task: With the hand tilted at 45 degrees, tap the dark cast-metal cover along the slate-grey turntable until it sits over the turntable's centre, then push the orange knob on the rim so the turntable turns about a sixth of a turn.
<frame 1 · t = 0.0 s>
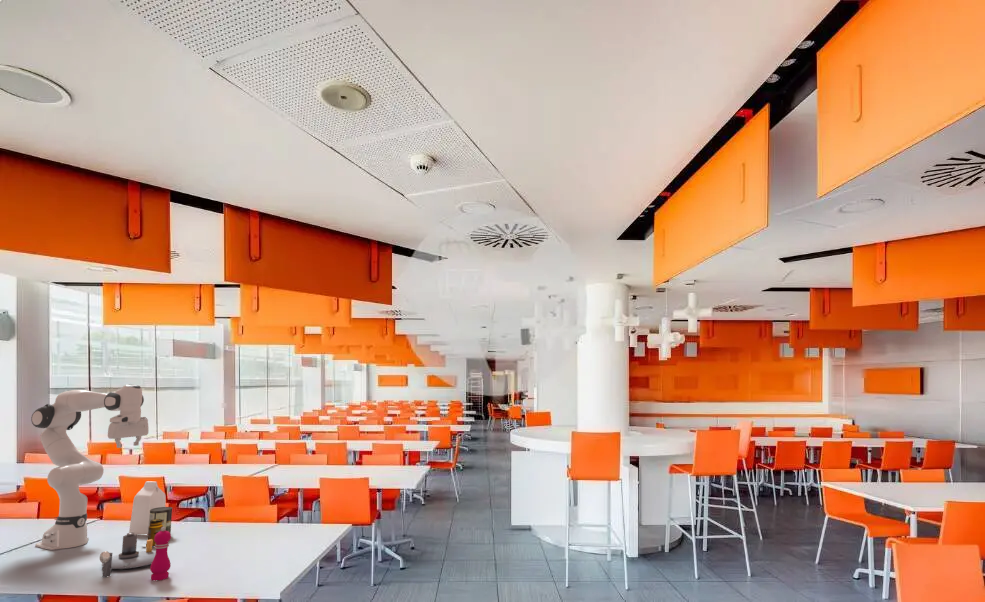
hand: (127, 446, 281), 48 cm above the table, tool pointing down, fingers open, 8 cm apart
turntable: (135, 553, 254), point 4 cm above the table, hinge at 0.0°, touching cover
condiment: (152, 545, 282), on the table
grey bar with dome: (106, 576, 236), on the table
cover: (128, 556, 256), point 2 cm above the table, touching turntable
coffee can: (159, 537, 296), on the table
milk: (147, 532, 307), on the table
pepper mill: (159, 578, 234), on the table
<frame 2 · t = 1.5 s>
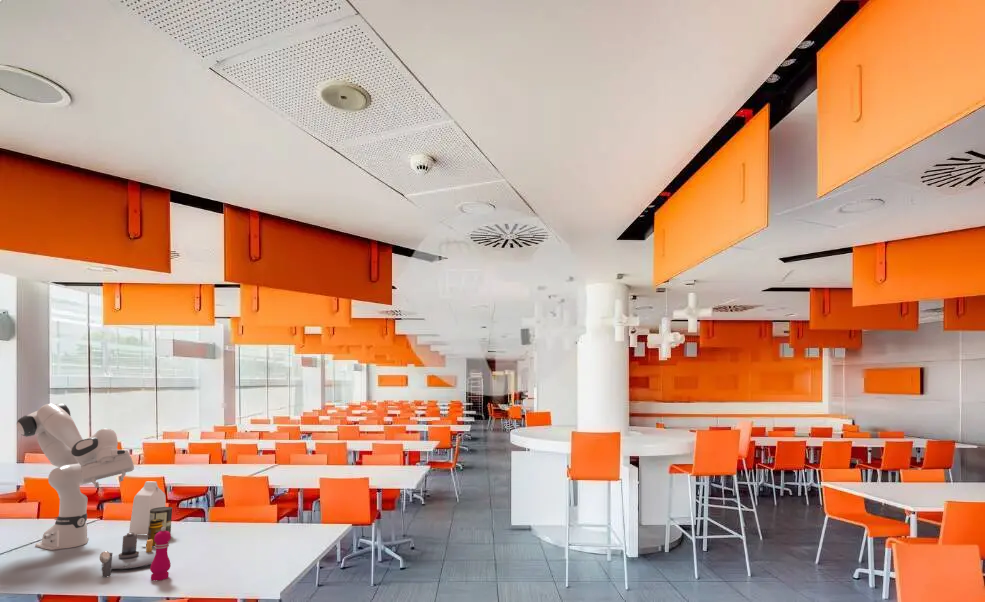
hand: (109, 483, 263), 33 cm above the table, tool tilted 40°, fingers open, 8 cm apart
nothing on the table moved.
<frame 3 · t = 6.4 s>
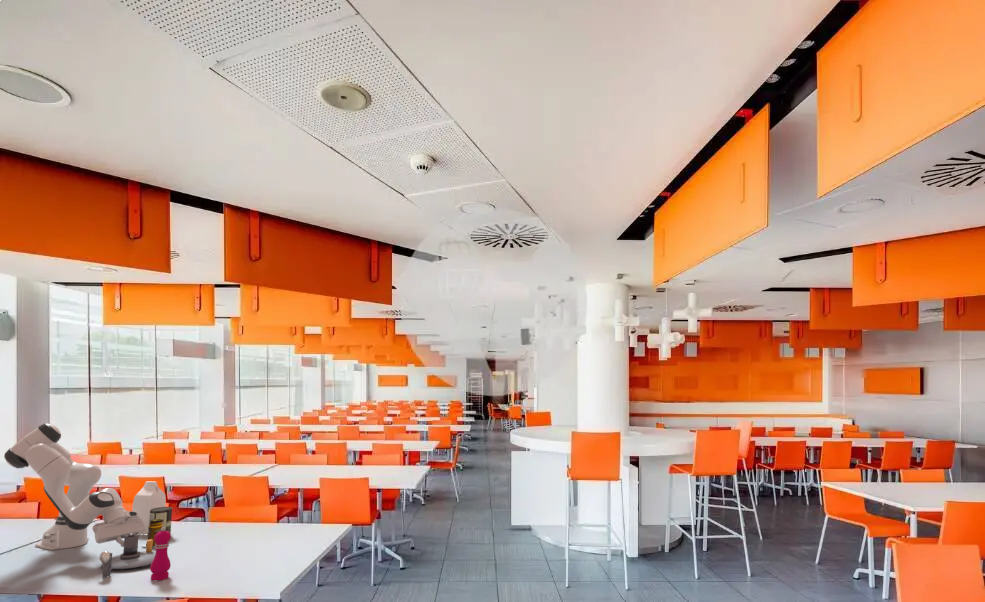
hand: (125, 545, 258), 7 cm above the table, tool tilted 45°, fingers closed
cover: (129, 557, 256), point 2 cm above the table, touching gripper, turntable
everything else where it was.
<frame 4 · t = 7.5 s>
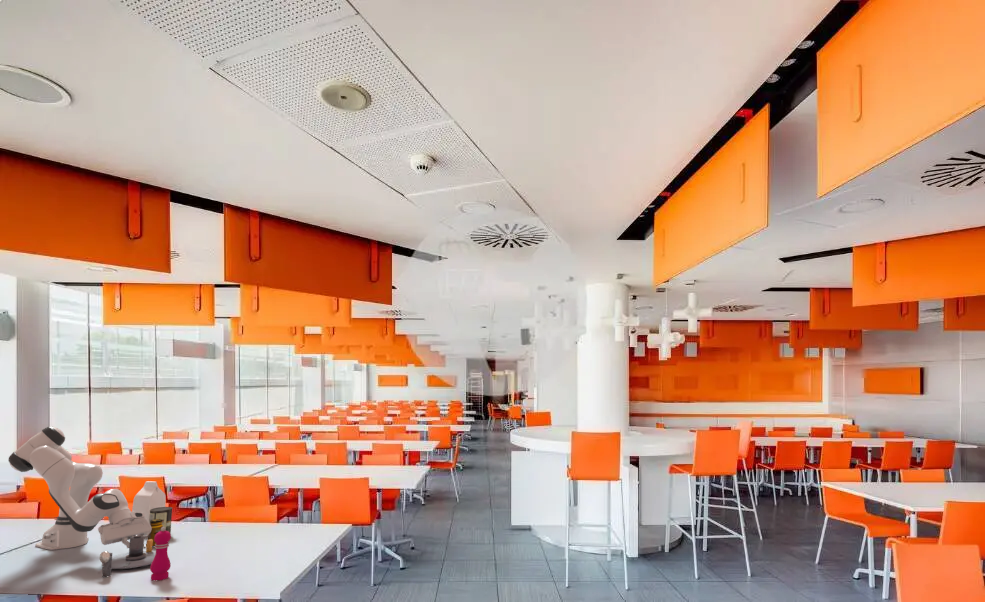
hand: (131, 546, 256), 7 cm above the table, tool tilted 45°, fingers closed
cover: (135, 558, 254), point 2 cm above the table, touching gripper, turntable
everything else where it was.
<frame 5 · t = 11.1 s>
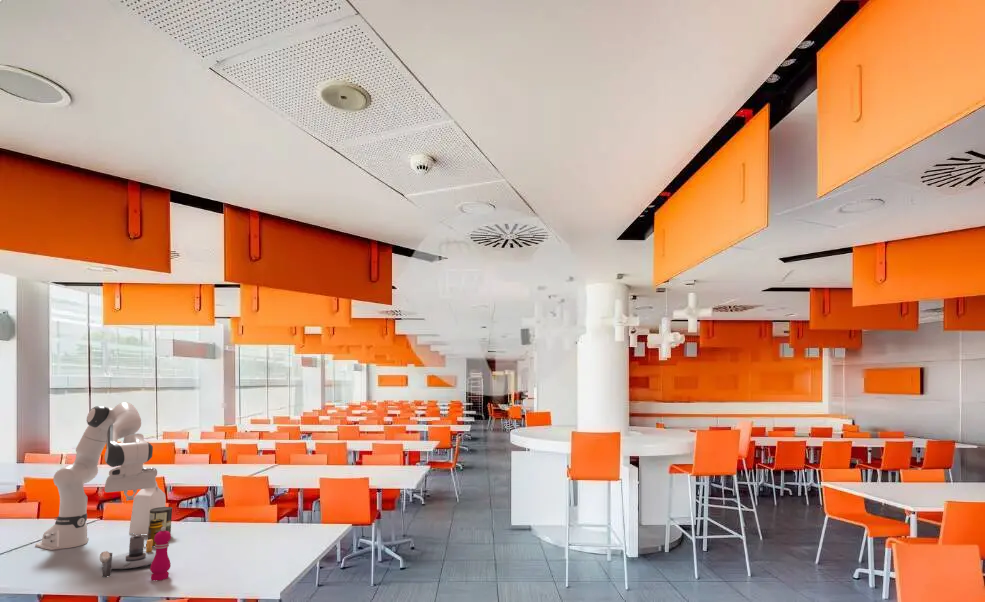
hand: (129, 500, 266), 25 cm above the table, tool pointing down, fingers closed
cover: (135, 558, 254), point 2 cm above the table, touching turntable
everything else where it was.
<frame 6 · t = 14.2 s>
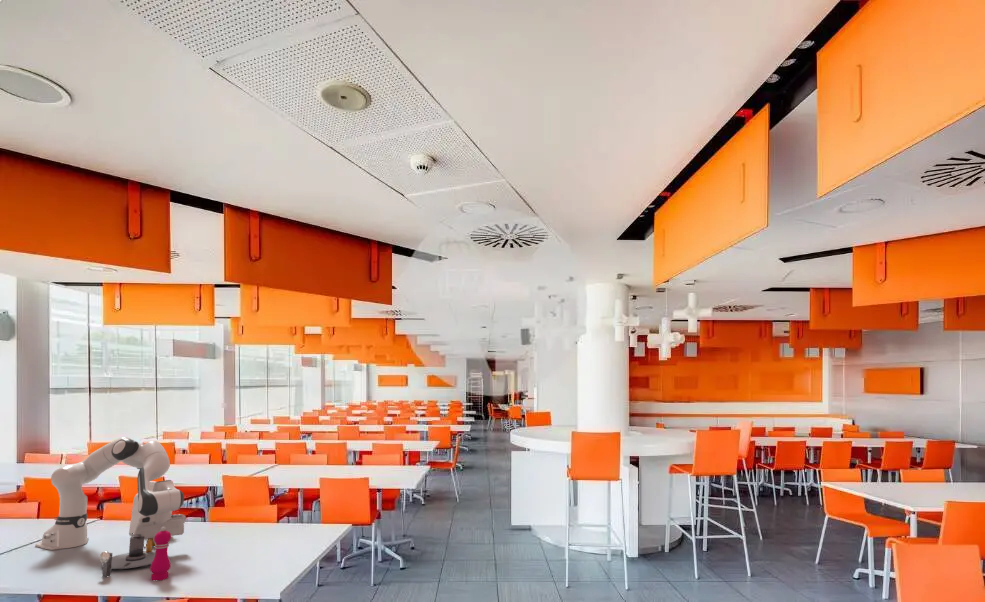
hand: (158, 547, 266), 3 cm above the table, tool pointing down, fingers closed
turntable: (135, 553, 254), point 4 cm above the table, hinge at 0.0°, touching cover, gripper
everything else where it was.
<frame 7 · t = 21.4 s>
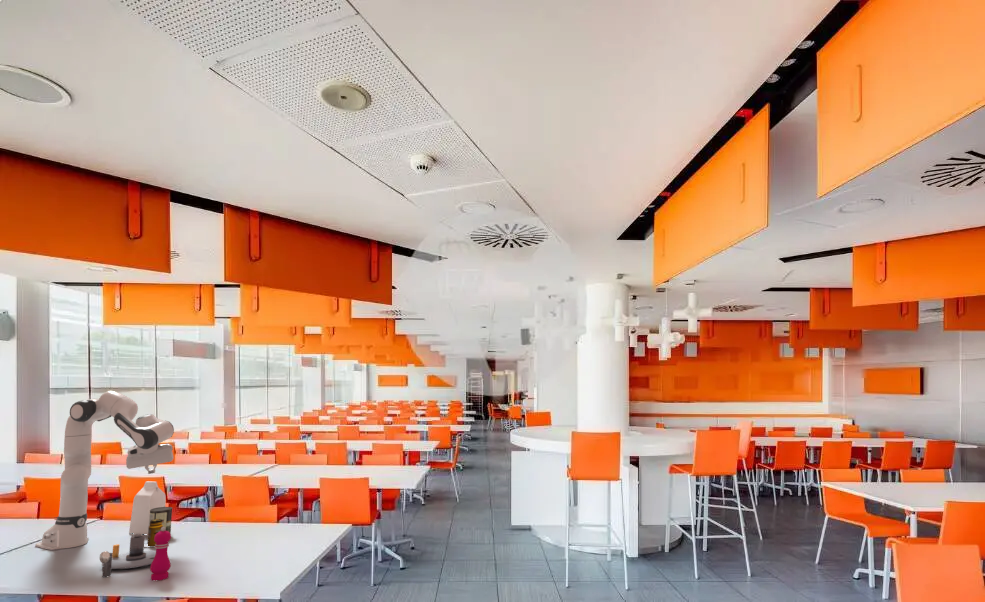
hand: (151, 473, 288), 34 cm above the table, tool tilted 15°, fingers closed
turntable: (135, 553, 254), point 4 cm above the table, hinge at 76.5°, touching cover
everything else where it was.
at the end: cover 0.5 cm off-centre on the turntable, point 2.0 cm above the turntable's base; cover tilted 0°; turntable at +76° (first picture: +0°) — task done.
